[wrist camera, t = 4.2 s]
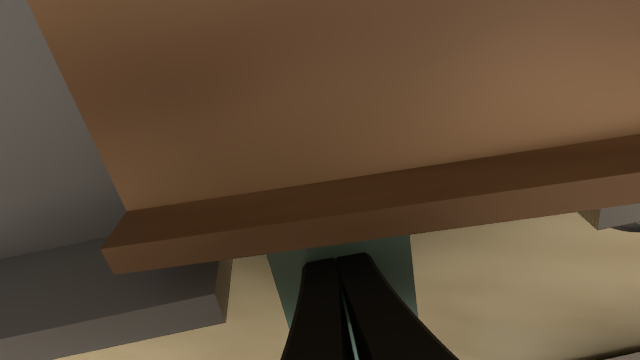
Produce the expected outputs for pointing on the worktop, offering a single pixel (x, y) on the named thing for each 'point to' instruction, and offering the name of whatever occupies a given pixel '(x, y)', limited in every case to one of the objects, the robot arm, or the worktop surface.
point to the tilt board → (346, 122)
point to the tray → (72, 224)
